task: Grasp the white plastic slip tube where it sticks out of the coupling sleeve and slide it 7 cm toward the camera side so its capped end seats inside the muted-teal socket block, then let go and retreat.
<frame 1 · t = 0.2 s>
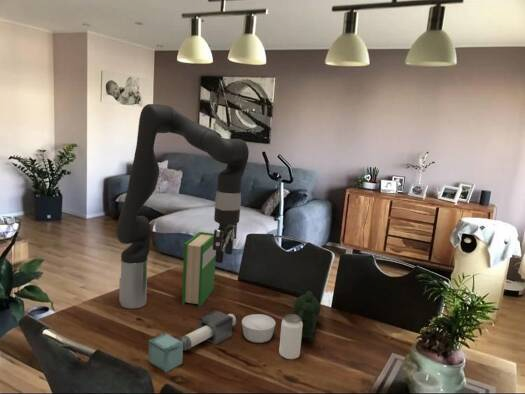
hand: (223, 258, 127), 29 cm above the table, fingers open, 8 cm apart
hardback book: (198, 296, 167), on the table
sleeve: (215, 335, 138), on the table
socket: (165, 362, 121), on the table
can: (289, 354, 130), on the table
ramekin: (257, 336, 140), on the table
dark green lumpy piece: (304, 332, 145), on the table
slip tube: (209, 330, 135), point 3 cm above the table, slide at 0.0 cm
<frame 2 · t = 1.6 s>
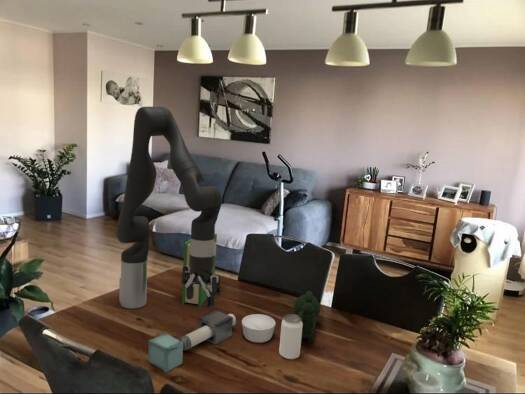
hand: (199, 302, 129), 14 cm above the table, fingers open, 8 cm apart
nothing on the table moved.
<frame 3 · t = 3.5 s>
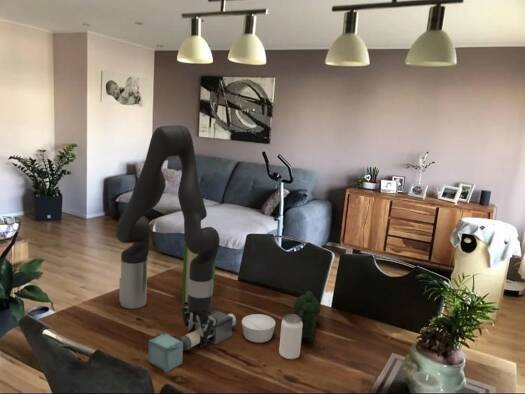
hand: (197, 342, 131), 1 cm above the table, fingers closed on slip tube, 4 cm apart
slip tube: (209, 330, 135), point 3 cm above the table, slide at 0.0 cm, touching gripper
everything else where it was.
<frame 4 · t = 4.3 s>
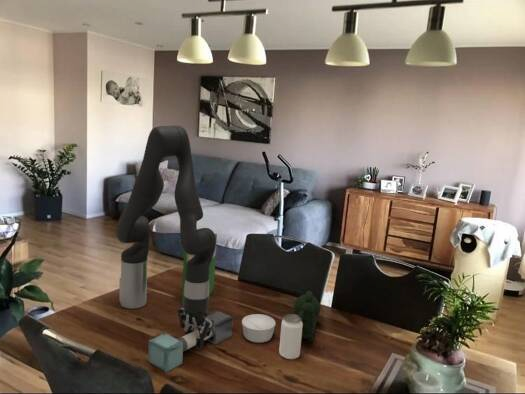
hand: (194, 344, 130), 1 cm above the table, fingers closed on slip tube, 4 cm apart
slip tube: (205, 332, 133), point 3 cm above the table, slide at 1.6 cm, touching gripper
everything else where it was.
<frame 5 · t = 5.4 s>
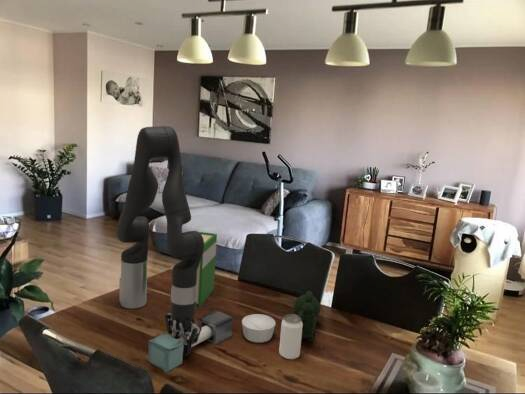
hand: (181, 351, 126), 1 cm above the table, fingers closed on slip tube, 4 cm apart
slip tube: (193, 338, 129), point 3 cm above the table, slide at 6.8 cm, touching gripper
everything else where it was.
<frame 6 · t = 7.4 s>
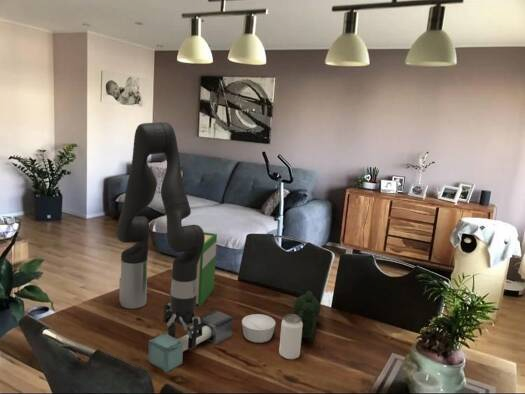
hand: (181, 342, 125), 4 cm above the table, fingers open, 8 cm apart
slip tube: (193, 338, 129), point 3 cm above the table, slide at 6.9 cm
everything else where it was.
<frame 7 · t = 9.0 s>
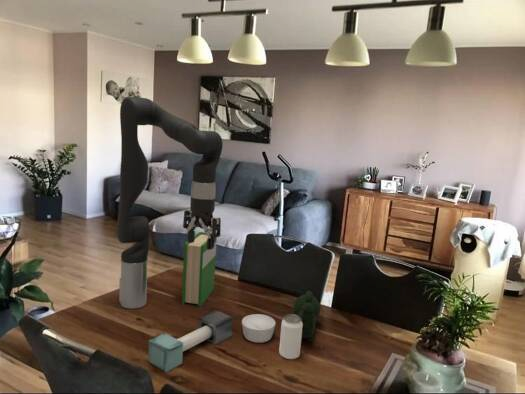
hand: (200, 245, 133), 30 cm above the table, fingers open, 8 cm apart
nothing on the table moved.
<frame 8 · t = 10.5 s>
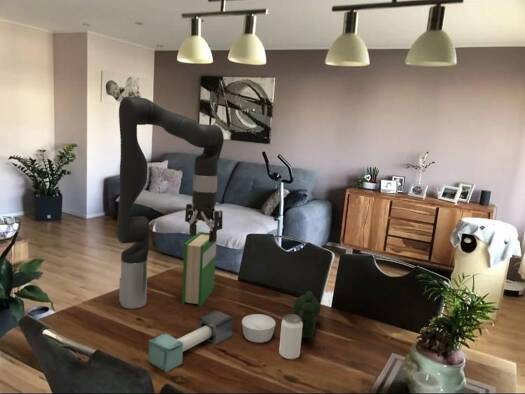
hand: (202, 239, 134), 32 cm above the table, fingers open, 8 cm apart
nothing on the table moved.
at the end: slip tube slide at 6.9 cm; the gripper is holding nothing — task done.
